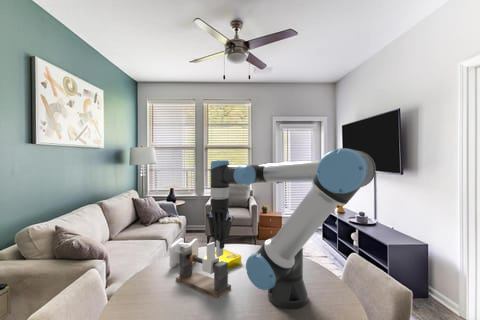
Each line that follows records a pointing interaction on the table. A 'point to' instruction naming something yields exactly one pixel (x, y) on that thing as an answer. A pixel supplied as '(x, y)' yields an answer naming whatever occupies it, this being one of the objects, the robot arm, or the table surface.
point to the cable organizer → (176, 250)
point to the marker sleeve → (210, 259)
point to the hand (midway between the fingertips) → (219, 255)
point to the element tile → (230, 258)
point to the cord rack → (200, 281)
